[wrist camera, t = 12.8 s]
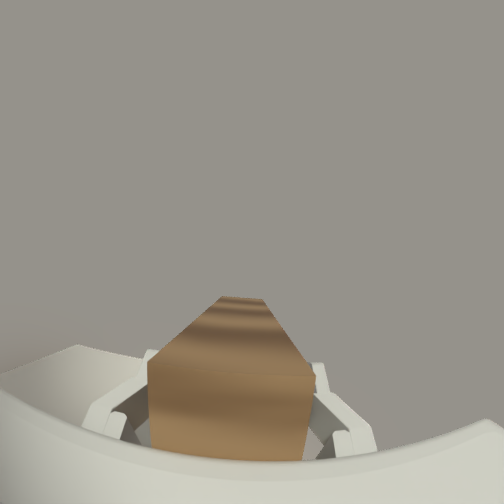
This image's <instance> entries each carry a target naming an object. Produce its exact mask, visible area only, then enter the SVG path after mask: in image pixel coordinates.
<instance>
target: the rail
mask: <svg viewBox="0 0 504 504" xmlns="http://www.w3.org/2000/svg"><path fill="white" fill-rule="evenodd" d="M315 382H316V375H315V373H314V372H313V370H312V369H311V368H310V366H309V365H308V363H307V362H306V361H305V359H304V358H303V357H302V355H301V354H300V352H299V351H298V349H297V348H296V347H295V346H294V344H293V342H292V341H291V340H290V338H289V337H288V335H287V334H286V333H285V331H284V330H283V328H282V327H281V326H280V324H279V323H278V321H277V320H276V318H275V317H274V316H273V314H272V313H271V311H270V310H269V308H268V307H267V306H266V304H265V303H264V301H263V300H262V299H250V298H237V297H225V296H222V297H221V298H220V299H218V300H217V301H216V302H215V303H214V304H213V305H212V306H210V307H209V308H208V309H207V310H206V311H205V312H204V313H203V314H201V315H200V316H199V317H198V318H197V319H196V320H195V321H194V322H192V323H191V324H190V325H189V326H188V327H187V328H185V329H184V330H183V331H182V332H181V333H180V334H179V335H177V336H176V337H175V338H174V339H173V340H172V341H171V342H169V343H168V344H167V345H166V346H165V347H164V348H162V349H161V350H160V351H159V352H158V353H157V354H156V355H154V356H153V357H152V358H151V359H150V360H149V361H147V386H148V408H149V423H150V436H151V446H152V448H155V449H160V450H165V451H170V452H176V453H182V454H188V455H195V456H202V457H211V458H221V459H233V460H250V461H298V460H302V456H303V451H304V446H305V441H306V435H307V430H308V425H309V419H310V414H311V408H312V402H313V395H314V389H315Z"/></svg>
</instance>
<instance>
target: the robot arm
mask: <svg viewBox="0 0 504 504" xmlns="http://www.w3.org/2000/svg"><path fill="white" fill-rule="evenodd" d="M158 352H159V351H158V350H153V349H148V350H147V351H146V354H145V356H144V358H143V360H142V363H141V365H140V368H139V370H138V373H137V375H136V377H131V378H130V379H128V380H127V381H125V382H124V383H122V384H121V385H119V386H118V387H116V388H115V389H113V390H111V391H110V392H108V393H107V394H105V395H104V396H102V397H101V398H99V399H98V400H96V401H94V402H93V403H92V404H91V406H90V408H89V410H88V412H87V415H86V417H85V419H84V421H83V424H82V426H81V427H80V426H77V425H75V424H72V423H70V422H67V421H65V420H62V419H60V418H58V417H55V416H53V415H51V414H49V413H46V412H44V411H42V410H40V409H38V408H36V407H34V406H32V405H30V404H28V403H26V402H24V401H22V400H20V399H18V398H16V397H15V396H13V395H11V394H9V393H8V392H6V391H4V390H2V389H1V388H0V504H504V429H503V428H502V427H501V426H499V425H498V424H496V423H495V422H493V421H491V420H489V419H481V420H479V421H476V422H474V423H471V424H469V425H467V426H464V427H461V428H459V429H456V430H453V431H450V432H448V433H445V434H442V435H439V436H436V437H432V438H429V439H426V440H422V441H419V442H415V443H412V444H408V445H404V446H400V447H396V448H391V449H386V450H381V451H377V447H376V443H375V440H374V436H373V432H372V429H371V426H370V425H369V424H368V423H367V422H365V421H364V420H363V419H362V418H361V417H360V416H359V415H358V414H356V413H355V412H354V411H353V410H352V409H351V408H350V407H349V406H348V405H346V404H345V403H344V402H343V401H342V400H341V399H340V398H339V397H338V396H337V395H336V394H335V393H330V389H329V384H328V380H327V375H326V371H325V367H324V364H323V363H308V365H309V366H310V368H311V369H312V370H313V372H314V373H315V375H316V382H315V389H314V395H313V402H312V408H311V414H310V419H309V425H308V426H309V427H310V429H311V430H312V431H313V433H314V434H315V435H316V436H317V438H318V439H319V440H320V441H321V442H322V444H323V445H324V447H323V449H322V450H321V451H320V453H319V454H318V456H317V457H316V459H315V460H298V461H250V460H233V459H221V458H211V457H202V456H195V455H188V454H182V453H176V452H170V451H165V450H160V449H155V448H151V447H146V446H142V445H141V443H140V441H139V439H138V437H137V435H136V433H135V432H134V431H135V430H136V429H137V428H138V427H140V426H141V425H142V424H143V423H144V422H145V421H146V420H147V419H148V418H149V408H148V386H147V361H149V360H150V359H151V358H152V357H153V356H154V355H156V354H157V353H158Z"/></svg>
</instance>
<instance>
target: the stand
mask: <svg viewBox="0 0 504 504" xmlns="http://www.w3.org/2000/svg"><path fill="white" fill-rule="evenodd" d="M142 360H143V359H139V358H134V357H129V356H124V355H120V354H115V353H111V352H106V351H102V350H98V349H94V348H89V347H86V346H81V345H78V344H77V345H74V346H72V347H69V348H67V349H64V350H61V351H59V352H56V353H54V354H51V355H49V356H46V357H44V358H41V359H38V360H36V361H33V362H31V363H28V364H25V365H22V366H20V367H17V368H14V369H12V370H9V371H6V372H4V373H1V374H0V388H1V389H2V390H4V391H6V392H8V393H9V394H11V395H13V396H15V397H16V398H18V399H20V400H22V401H24V402H26V403H28V404H30V405H32V406H34V407H36V408H38V409H40V410H42V411H44V412H46V413H49V414H51V415H53V416H55V417H58V418H60V419H62V420H65V421H67V422H70V423H72V424H75V425H77V426H80V427H81V426H82V424H83V421H84V419H85V417H86V415H87V412H88V410H89V408H90V406H91V404H92V403H93V402H94V401H96V400H98V399H99V398H101V397H102V396H104V395H105V394H107V393H108V392H110V391H111V390H113V389H115V388H116V387H118V386H119V385H121V384H122V383H124V382H125V381H127V380H128V379H130V378H131V377H136V375H137V373H138V370H139V368H140V365H141V363H142ZM134 432H135V433H136V435H137V437H138V439H139V441H140V443H141V445H142V446H146V447H151V448H152V446H151V436H150V423H149V418H148V419H147V420H146V421H145V422H144V423H143V424H142V425H141V426H140V427H138V428H137V429H136V430H135V431H134Z"/></svg>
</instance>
